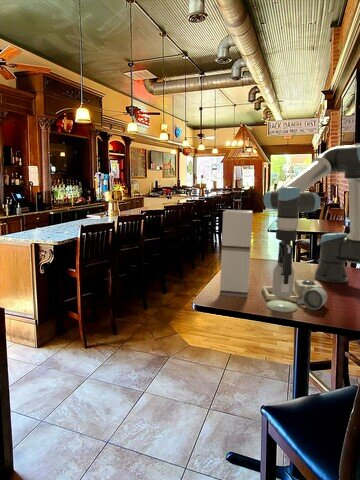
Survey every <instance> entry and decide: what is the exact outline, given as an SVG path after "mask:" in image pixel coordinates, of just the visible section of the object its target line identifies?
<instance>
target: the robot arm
mask: <svg viewBox="0 0 360 480" xmlns="http://www.w3.org/2000/svg"><path fill="white" fill-rule="evenodd" d="M335 173H336V174H337V173H344V179H345V180H346V181H348V206H349V209H348V210H349V212H348V213H349V233H346V232H337V233H336V232H331V233H324V234H322V236H321V240H320V251H319V262H318V265H317V268H316V269H315V272H314V279H316V281H319V282H325V283H332V284H333V283H334V284H342V283H347V282H348V274H347V269H346V262H347V263H348V262H349V263H353V264H357V265H360V144H350V145H337V146H334V147H331V148H328V149H327V150H325V151H324V152H322V153H320V154H319V155H317V156H316V157H315V158H314V159H313V160H312V161H311V164H309V165H308V166H307V167H305V168H304V169H303V170H301V171H300V172H298V173H297V174H296V175H295V176H293V178H291V179H290V180H289V181H287V182H285V184H283V185H282V186H281V187H280V188H278V189H277V190H269V191H267V192H265V194H264V195H263V204H264V207H265V208H266V209H270V210H273V211H274V210H275V211H276V210H277V214H276V215H277V216H276V217H277V218H276V219H275V220H274V221H275V222H274V223H276V228H277V229H276V230H275V239H276V240H278V241H279V242H278V254H277V264H280V263H283V273H281V275H282V281H281V292H287V293H289V280H290V275H291V274H292V273H291V272H292V268H293V267H292V266H293V251H294V248H293V245H292V244H291V242H293V241H297V239H298V230H297V229H298V228H299V213H312V212H316V211H317V210H318V209H320V207H321V203H322V202H321V197H320V196H319V194H318V193H316V192H309V191H307V190H308V189H309V188H311V187H312V186H313V185H315V184H316V183H317V182H318V181H319V180H321V179H322V178H326V177H328V176H330V175H331V174H335ZM305 191H307V192H305ZM286 271H288V272H286Z"/></svg>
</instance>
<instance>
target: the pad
mask: <svg viewBox="0 0 360 480" xmlns="http://www.w3.org/2000/svg"><path fill="white" fill-rule="evenodd" d="M266 307H267V308H268V309H270V310H271V311H275V312H280V313H293V312H296V311H297V305H296V303H294V302H293V303H292V302H290V301H280V300H275V301H269V300H268V302H267V303H266Z"/></svg>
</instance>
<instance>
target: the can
mask: <svg viewBox="0 0 360 480" xmlns="http://www.w3.org/2000/svg"><path fill="white" fill-rule="evenodd" d="M293 266H294V265H292V272H291V273H292V274H291V275H290V280H289V293H287V292H281V281H282V275H281V273H283V263H280V264H278V263H276V264H275V266H274V267H273V271H272V272H273V274H272V286H271V287H272V292H271V293H272V295H275V296H276V297H280V298H289V297H290V296H293V288H294V282H295V280H294V278H295V269H294V268H293ZM286 272H288V271H286Z"/></svg>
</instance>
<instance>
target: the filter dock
mask: <svg viewBox="0 0 360 480" xmlns="http://www.w3.org/2000/svg"><path fill="white" fill-rule="evenodd" d="M304 280H305V279H304ZM304 280H302V279H301V280H300V279H295V280H294V286H293V295H292V296H290V297H289V298H280V297H276V296H275V295H274V294H270V293H269V292H271V293H272V287H273V286H267V285H266V286H265V285H264V286H263V285H262V287H261V288H262V289H261V291H262V293H263V295H264V299H265V301H268V302H269V301H275V300H280V301H287V302H291V303H292V302H293V303H294V302H295V303H298V302H297V300H298V299H301V298H303V295H304V293H305V292H306V291H308V290H310V289H312V288H315V287H319V288H322V289H324V287H323V285H321V284H320V283H319V282H318V280H313V281H314V285H303V281H304Z"/></svg>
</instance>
